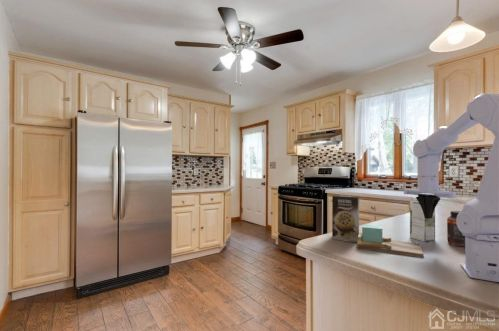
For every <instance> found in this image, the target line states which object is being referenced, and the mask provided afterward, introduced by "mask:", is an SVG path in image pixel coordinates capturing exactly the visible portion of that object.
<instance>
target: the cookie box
mask: <svg viewBox="0 0 499 331" xmlns="http://www.w3.org/2000/svg"><path fill="white" fill-rule="evenodd" d="M331 199H332V201H331V202H332V204H331V205H332V209H331V210H332V212H331V214H332V217H331V218H332V221H331V222H332V224H331V226H332V228H331V229H332V230H331V231H332V233H331V239H332V240H336V241H344V242H351V243H352V242H354V243H358V235H359V233H360V196H359V195H346V194H345V195H344V194H334V195H332V198H331Z"/></svg>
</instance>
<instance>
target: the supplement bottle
mask: <svg viewBox="0 0 499 331" xmlns="http://www.w3.org/2000/svg"><path fill="white" fill-rule="evenodd" d="M461 211H462V210H461ZM461 211H460V210H451V211H450V216H449V217H447V219H446V226H447V227H446V229H447V230H446V232H447V236H446V237H447V238H446V239H447V243H448V244H449V245H452V246H456V247H462V248H463V247H465V236H464V235H462V233H461V232H460V230H459V229H458V227H457V224H456V218H457V215H458V214H459V213H460V212H461Z"/></svg>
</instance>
